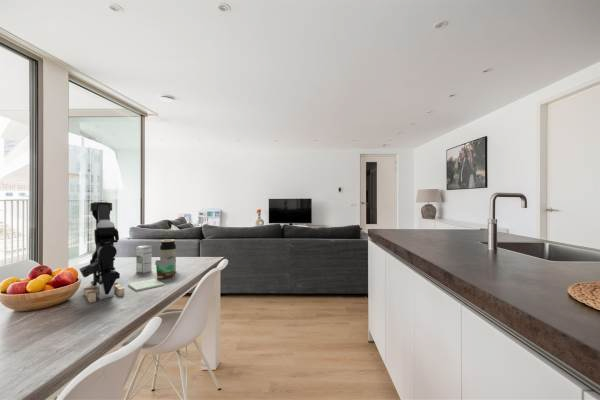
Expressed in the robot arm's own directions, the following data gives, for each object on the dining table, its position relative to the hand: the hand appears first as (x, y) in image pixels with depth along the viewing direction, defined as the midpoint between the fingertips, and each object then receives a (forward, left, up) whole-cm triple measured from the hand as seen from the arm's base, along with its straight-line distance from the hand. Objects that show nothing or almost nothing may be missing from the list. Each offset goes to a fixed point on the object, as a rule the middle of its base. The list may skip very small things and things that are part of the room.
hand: (105, 292), depth 117 cm
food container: (-11, +30, -2) cm, 32 cm away
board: (-4, +17, -2) cm, 18 cm away
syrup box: (-33, +25, -2) cm, 41 cm away
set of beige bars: (-3, 0, -1) cm, 3 cm away
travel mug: (-22, +34, -2) cm, 41 cm away
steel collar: (0, 0, -2) cm, 2 cm away
